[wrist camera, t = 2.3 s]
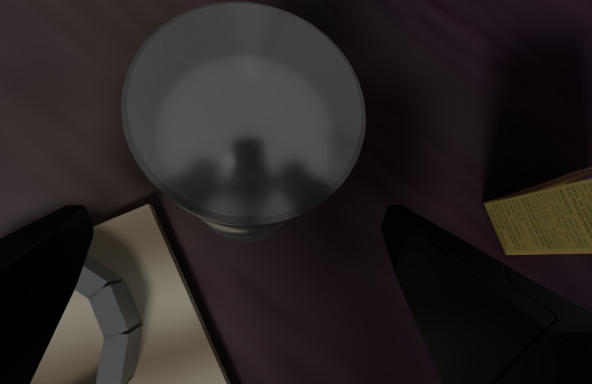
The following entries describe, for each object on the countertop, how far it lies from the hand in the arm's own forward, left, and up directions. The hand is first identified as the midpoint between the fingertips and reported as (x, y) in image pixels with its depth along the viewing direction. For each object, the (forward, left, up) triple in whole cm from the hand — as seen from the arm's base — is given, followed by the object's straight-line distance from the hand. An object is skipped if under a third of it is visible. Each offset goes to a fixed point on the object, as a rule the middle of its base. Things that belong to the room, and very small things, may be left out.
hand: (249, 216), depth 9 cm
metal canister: (+2, -1, -9) cm, 10 cm away
